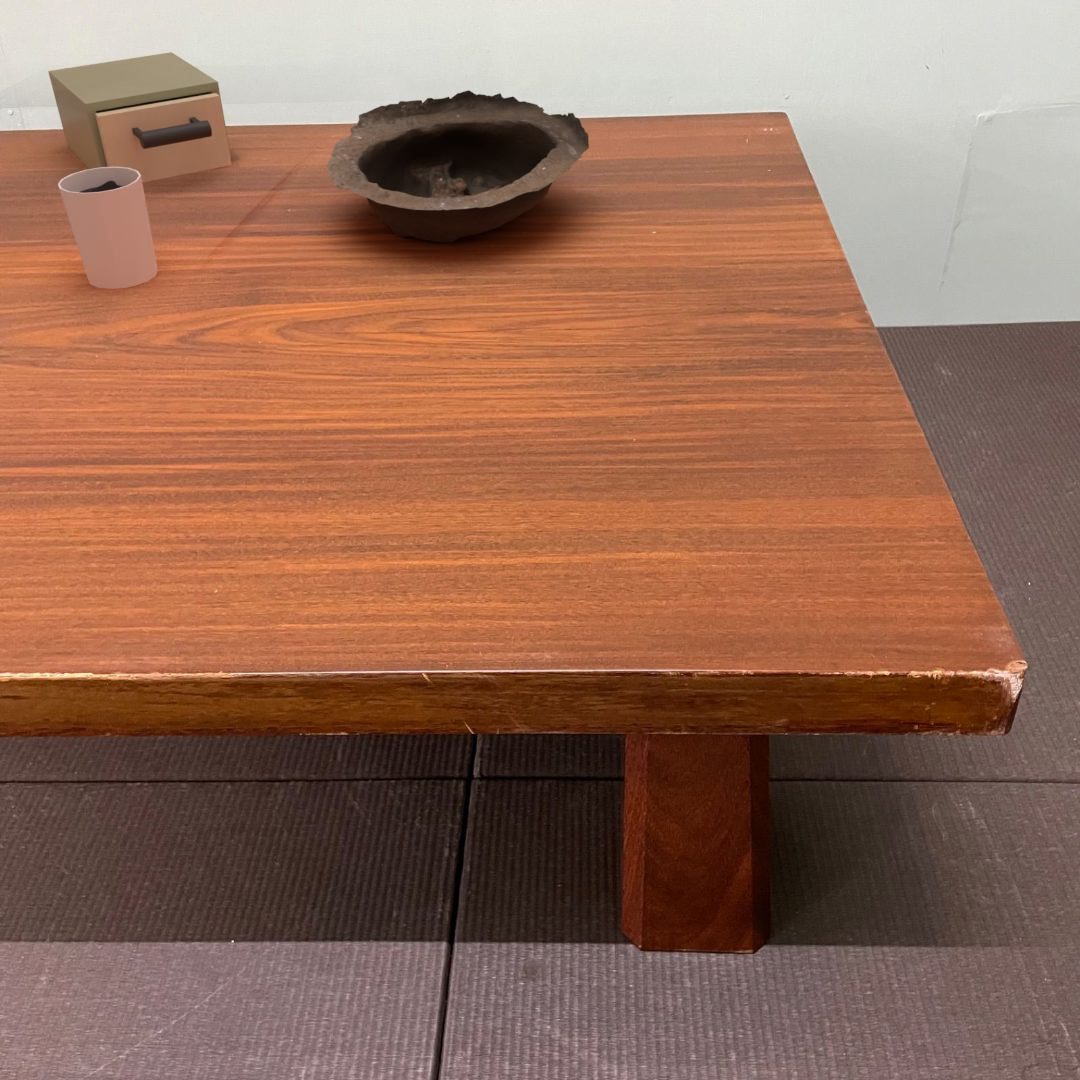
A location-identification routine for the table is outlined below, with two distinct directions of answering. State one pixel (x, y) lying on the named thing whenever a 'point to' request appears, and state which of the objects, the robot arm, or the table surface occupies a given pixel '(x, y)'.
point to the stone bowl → (455, 162)
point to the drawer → (166, 136)
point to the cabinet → (119, 94)
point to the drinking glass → (110, 225)
